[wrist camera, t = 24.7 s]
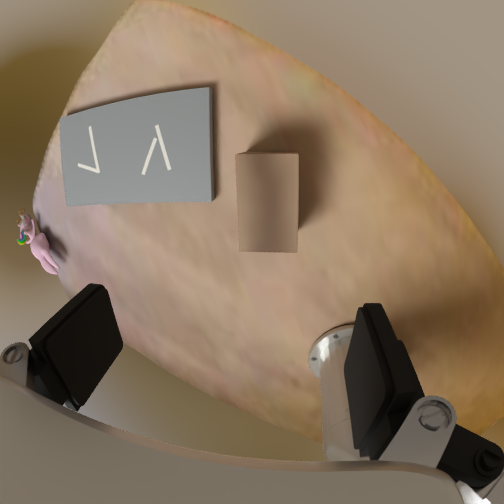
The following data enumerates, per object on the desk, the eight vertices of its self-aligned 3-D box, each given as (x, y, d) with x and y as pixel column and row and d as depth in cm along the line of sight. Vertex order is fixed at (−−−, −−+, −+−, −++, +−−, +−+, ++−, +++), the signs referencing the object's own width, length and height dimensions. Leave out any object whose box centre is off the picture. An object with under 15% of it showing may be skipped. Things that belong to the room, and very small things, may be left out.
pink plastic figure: (25, 224, 43) (61, 278, 43) (3, 231, 37) (37, 290, 37) (32, 200, 40) (69, 256, 40) (8, 206, 35) (44, 267, 35)
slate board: (212, 89, 30) (209, 87, 28) (214, 199, 35) (211, 201, 34) (66, 118, 32) (59, 118, 31) (72, 204, 38) (66, 206, 36)
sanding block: (296, 151, 32) (298, 153, 25) (295, 231, 35) (297, 252, 29) (245, 151, 32) (235, 154, 26) (248, 230, 36) (239, 251, 30)
